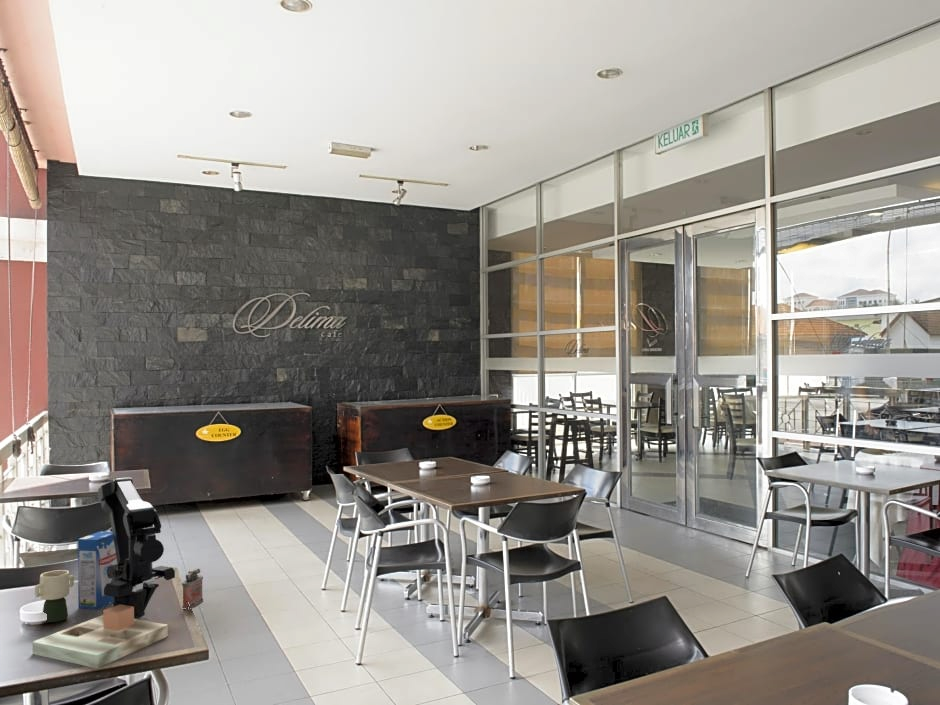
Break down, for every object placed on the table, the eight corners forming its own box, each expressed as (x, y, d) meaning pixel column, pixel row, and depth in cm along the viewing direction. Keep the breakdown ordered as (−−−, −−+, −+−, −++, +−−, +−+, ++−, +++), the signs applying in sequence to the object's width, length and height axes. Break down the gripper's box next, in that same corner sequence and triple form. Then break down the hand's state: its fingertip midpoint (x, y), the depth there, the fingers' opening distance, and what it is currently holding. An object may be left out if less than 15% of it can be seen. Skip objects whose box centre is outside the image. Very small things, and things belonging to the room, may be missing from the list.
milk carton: (97, 609, 209) (97, 539, 209) (78, 608, 210) (77, 539, 210) (120, 598, 219) (119, 531, 219) (101, 597, 220) (100, 531, 220)
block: (119, 621, 191) (119, 604, 191) (134, 624, 189) (133, 606, 189) (103, 628, 186) (103, 610, 186) (117, 630, 184) (117, 612, 184)
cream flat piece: (106, 624, 197) (106, 613, 197) (167, 636, 188) (167, 624, 188) (32, 654, 177) (32, 641, 177) (97, 668, 169) (97, 655, 169)
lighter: (190, 610, 208) (189, 575, 208) (179, 609, 208) (179, 574, 208) (205, 601, 216) (205, 567, 216) (195, 600, 216) (195, 566, 216)
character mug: (65, 612, 207) (65, 566, 207) (81, 616, 204) (81, 569, 204) (27, 625, 197) (26, 577, 197) (43, 629, 194) (43, 580, 194)
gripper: (146, 543, 206) (146, 599, 205) (88, 560, 188) (88, 621, 188) (176, 547, 201) (176, 603, 201) (119, 564, 184) (120, 626, 184)
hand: (140, 613), depth 194 cm, fingers closed
